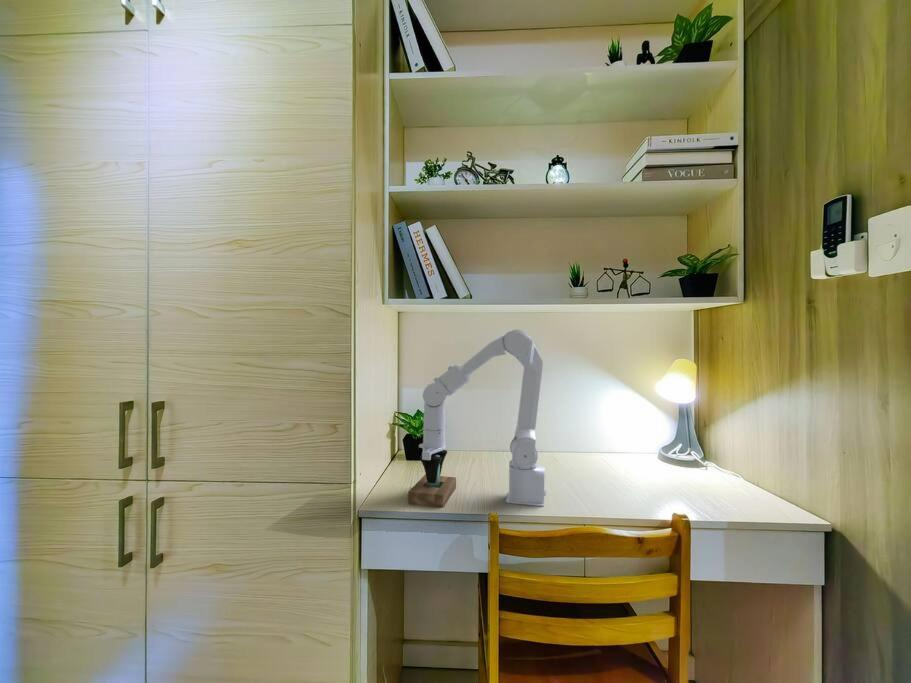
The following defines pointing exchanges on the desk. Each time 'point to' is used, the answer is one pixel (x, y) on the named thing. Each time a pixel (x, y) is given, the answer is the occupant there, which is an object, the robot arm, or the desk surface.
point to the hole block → (432, 492)
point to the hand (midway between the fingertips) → (433, 480)
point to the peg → (437, 478)
